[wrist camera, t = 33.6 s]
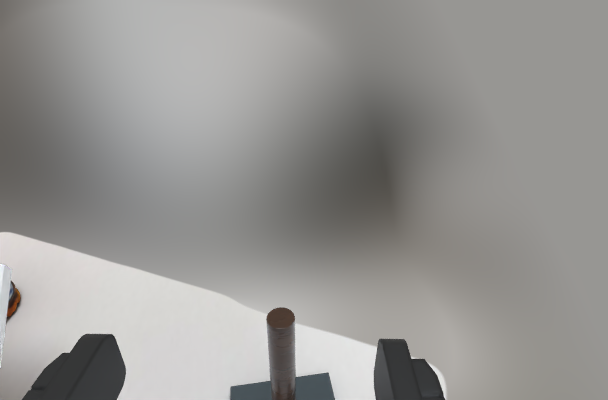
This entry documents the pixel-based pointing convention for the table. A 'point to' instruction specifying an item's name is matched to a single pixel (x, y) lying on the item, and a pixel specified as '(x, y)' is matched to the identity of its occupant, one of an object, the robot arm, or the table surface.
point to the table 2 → (4, 301)
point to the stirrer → (282, 353)
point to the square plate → (309, 389)
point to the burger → (12, 299)
